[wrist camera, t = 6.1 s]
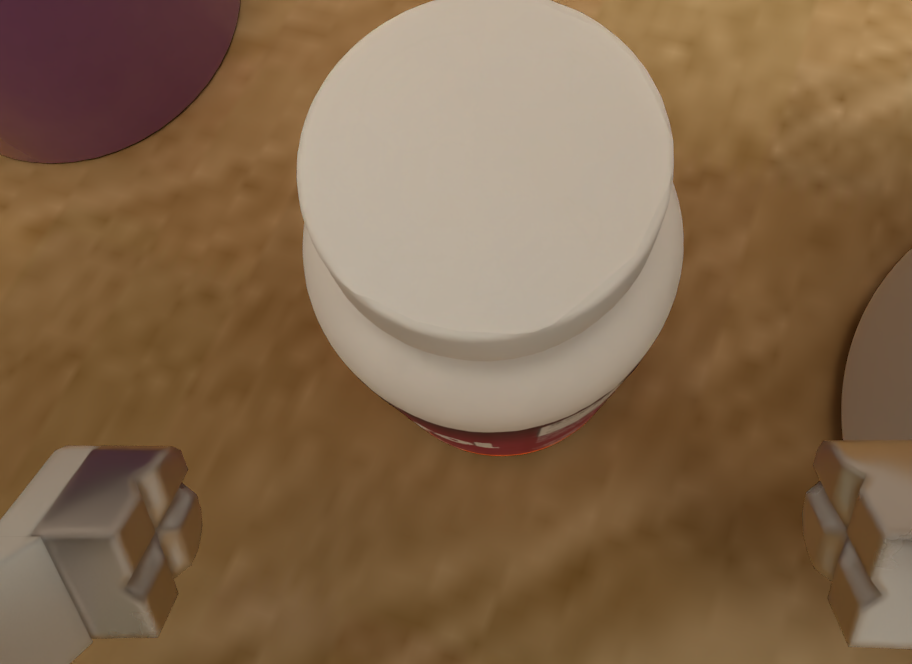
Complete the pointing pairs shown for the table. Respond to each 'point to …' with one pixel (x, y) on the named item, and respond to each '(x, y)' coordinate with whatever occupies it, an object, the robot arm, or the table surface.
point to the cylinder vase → (881, 363)
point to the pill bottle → (490, 218)
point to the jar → (102, 71)
